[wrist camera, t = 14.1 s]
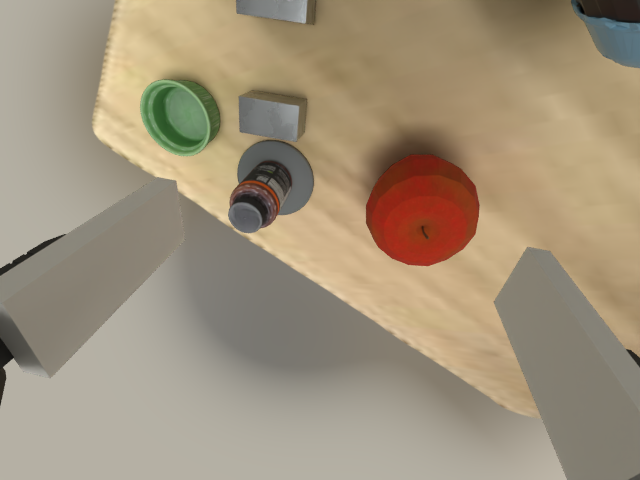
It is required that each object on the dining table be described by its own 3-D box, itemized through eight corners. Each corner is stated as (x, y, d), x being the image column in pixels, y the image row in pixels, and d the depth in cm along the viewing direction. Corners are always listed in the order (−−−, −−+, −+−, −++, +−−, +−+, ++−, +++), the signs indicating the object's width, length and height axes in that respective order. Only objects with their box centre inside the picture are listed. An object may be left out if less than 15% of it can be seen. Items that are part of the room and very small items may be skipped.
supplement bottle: (261, 201, 46) (230, 243, 37) (246, 163, 43) (209, 198, 34) (298, 195, 45) (276, 237, 36) (286, 155, 42) (259, 190, 33)
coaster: (238, 133, 42) (236, 135, 42) (317, 147, 41) (316, 149, 41) (240, 205, 48) (238, 207, 48) (309, 218, 48) (308, 221, 47)
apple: (392, 122, 38) (395, 160, 27) (482, 156, 38) (525, 208, 27) (355, 206, 45) (346, 265, 34) (432, 234, 45) (449, 302, 34)
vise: (242, -94, 30) (219, -114, 26) (334, -83, 29) (326, -102, 25) (245, 122, 41) (230, 131, 37) (311, 133, 41) (303, 144, 36)
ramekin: (230, 147, 44) (216, 158, 40) (171, 145, 45) (152, 155, 41) (217, 75, 39) (200, 79, 35) (152, 75, 40) (129, 79, 36)
